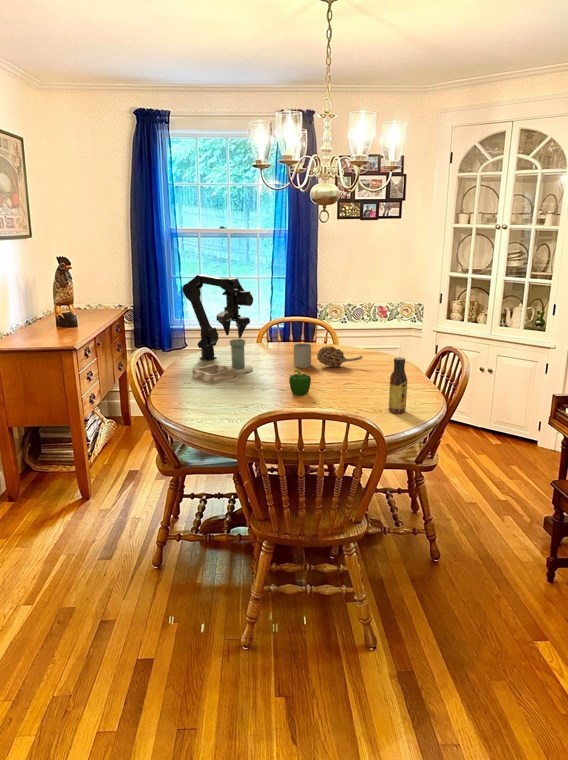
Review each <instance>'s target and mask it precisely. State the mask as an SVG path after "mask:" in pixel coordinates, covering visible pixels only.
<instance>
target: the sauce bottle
mask: <svg viewBox="0 0 568 760" xmlns="http://www.w3.org/2000/svg"><path fill="white" fill-rule="evenodd" d="M393 363H394V364H393V365H394V366H393V371H392V373H390V377H389V391H388V392H389V393H388V411H389V412H390V413H391V414H403V413H406V408H407V394H408V393H407V392H408V378H407V374H406V371H405V365H406V358H405V357H400V356H399V357H394V358H393Z"/></svg>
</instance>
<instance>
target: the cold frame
mask: <svg viewBox="0 0 568 760" xmlns="http://www.w3.org/2000/svg"><path fill="white" fill-rule="evenodd" d="M216 371H217V372H216ZM191 372H192V378H194V377H195V379H198V380H201V381H204V380H205V382H207V381H208V382H207V383H210V384H213V383H214V384H215V383H217V381H218V382H222V381H224V380H229V379H232V377H233V378H235V377H234V376H238V374H237V371H236V369H235V368H231V367H229V366H226V365H223V364H220V363H219V364H218V363H214V364H211V365H210V364H209V365H205V366H202V367H196V368H193V369H192V371H191ZM212 372H214V373H212ZM219 372H220V373H219ZM209 373H210V374H209ZM228 378H229V379H228ZM221 380H222V381H221Z"/></svg>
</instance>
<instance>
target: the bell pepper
mask: <svg viewBox="0 0 568 760" xmlns="http://www.w3.org/2000/svg"><path fill="white" fill-rule="evenodd" d="M288 379H289V382H288V383H289V386H290V390H291V393H292V395H294V396H297V397H302V396H306V395H307V394H308V393H309V392H310V388H311V385H312V384H311V382H312V381H311V380H312V379H311V376H310V375H308V374H306V373H301V371H300V370H299V369H295V370H294V373H293V375H290V377H289V378H288Z"/></svg>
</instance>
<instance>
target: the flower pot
mask: <svg viewBox="0 0 568 760" xmlns="http://www.w3.org/2000/svg"><path fill="white" fill-rule="evenodd" d="M229 345H230V346H231V347H230V351H231V355H230V356H231V366H232V368H235V369H236V370H239V369H244V368H245V365H246V364H245V362H246V361H245V360H246V359H245V346H246V339H242V338H235V339H231V340H229Z"/></svg>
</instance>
